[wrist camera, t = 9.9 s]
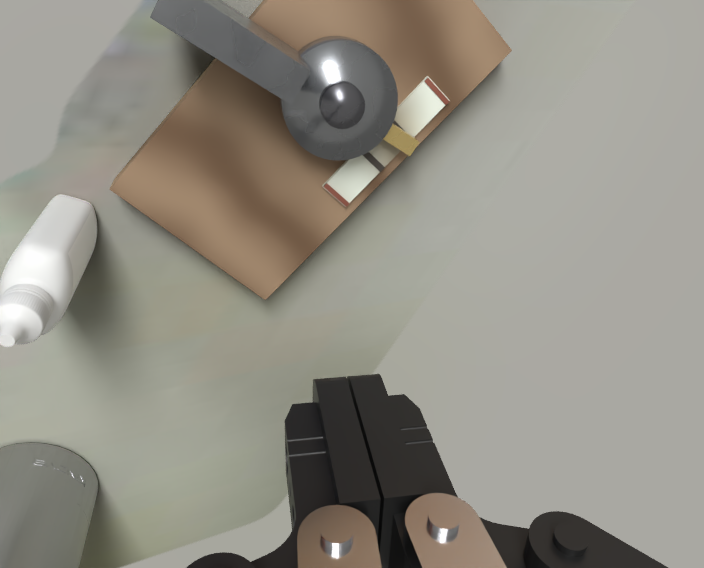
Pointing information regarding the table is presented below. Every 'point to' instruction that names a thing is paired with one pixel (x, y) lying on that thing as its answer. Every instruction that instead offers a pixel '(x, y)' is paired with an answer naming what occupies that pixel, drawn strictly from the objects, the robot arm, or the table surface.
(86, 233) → the eye dropper bottle
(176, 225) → the stand
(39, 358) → the table surface
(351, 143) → the lever
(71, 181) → the table surface
